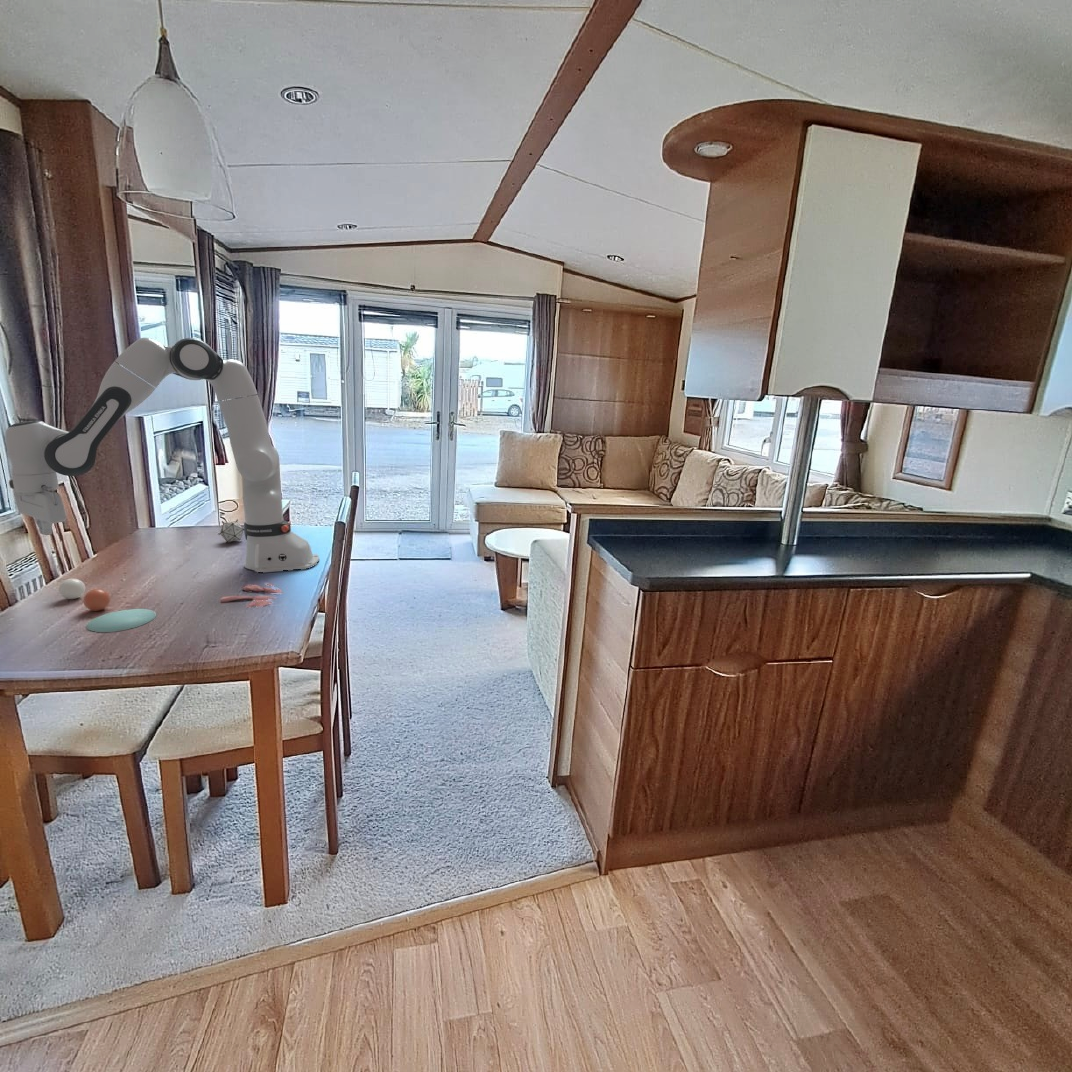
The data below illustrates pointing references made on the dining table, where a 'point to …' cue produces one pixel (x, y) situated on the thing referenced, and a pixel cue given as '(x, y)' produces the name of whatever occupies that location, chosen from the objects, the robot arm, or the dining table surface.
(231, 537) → the game die
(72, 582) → the white egg
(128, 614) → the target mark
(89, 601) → the brown egg
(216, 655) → the dining table surface
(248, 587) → the pinkish brown flat pieces
